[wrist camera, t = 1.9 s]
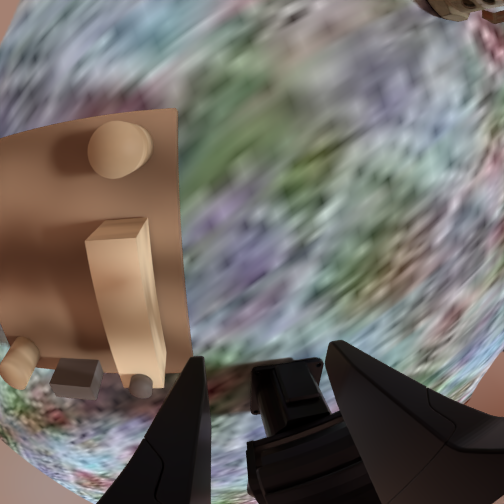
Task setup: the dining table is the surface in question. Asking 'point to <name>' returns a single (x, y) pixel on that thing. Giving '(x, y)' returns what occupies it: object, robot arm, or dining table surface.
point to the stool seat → (73, 241)
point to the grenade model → (467, 9)
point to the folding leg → (129, 302)
